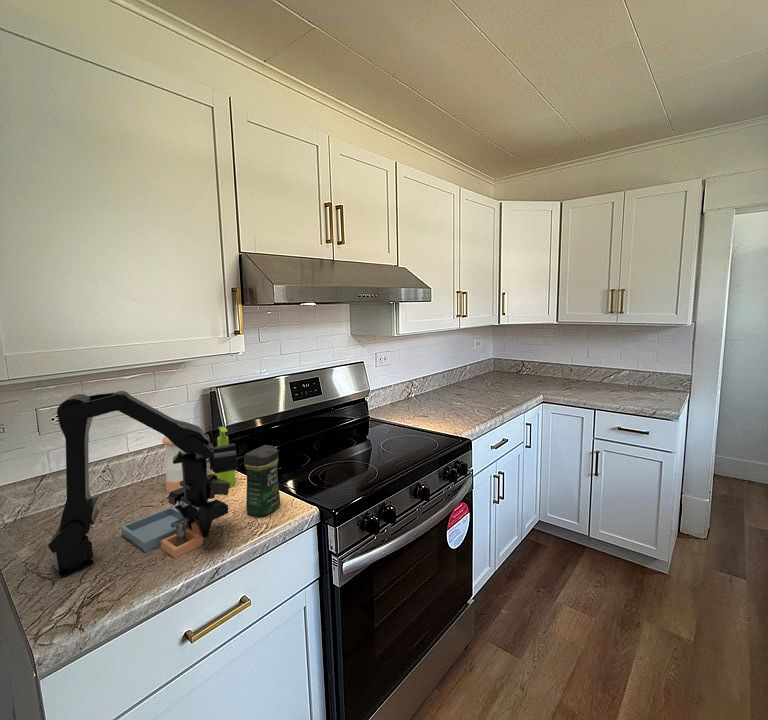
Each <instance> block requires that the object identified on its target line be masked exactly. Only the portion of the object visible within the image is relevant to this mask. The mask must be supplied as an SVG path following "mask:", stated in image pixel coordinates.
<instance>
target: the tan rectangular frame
mask: <svg viewBox="0 0 768 720" xmlns="http://www.w3.org/2000/svg"><path fill="white" fill-rule="evenodd" d="M191 525H192V531H191V530H190V529H186V530H185V532H186V540H188V541H186V543H184V544H182V545H180V546H178V545H177V546H176V544H177V534H175V535H172V536H170V537H168V538H166V539H163V540H161V546H160V549H162V550H163V551H165V553H167V554H168V555H170V556H172V557H173V558H175V559H176V558H178V556H179V557H181V556H182V555H185V554H186V553H189V552H191V551H193V550H194V549H197V548H199V547H201V546H203V545H204V540H206V539H208V538H207V537H206V539H205V538H203V536H202V535H201V533H200V530H199V528H198V526H197V524H196V522H194V523H192V524H191ZM203 539H204V540H203ZM202 544H203V545H202Z"/></svg>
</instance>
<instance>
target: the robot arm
mask: <svg viewBox="0 0 768 720" xmlns="http://www.w3.org/2000/svg"><path fill="white" fill-rule="evenodd" d="M116 411H117V412H120V413H122V414H123V415H126V416H127V417H129V418H131V419H133V420H135V421H137V422H139V423H141V424H142V425H144V426H146V427H148V428H151V430H154V431H156V432H158V433H160V434H162V435H163V436H166V437H167V438H168V439H169V440H170V441H171V442H172V443H173V444H174V445H175V446H177V447H178V448H179V449H181V450H182V451H183V452H185V453H183V452H181V451H179V452H178V454H177V455H176V456H175V457H174V458H173V464H177V463H182V475H183V481H180V486H182V488H180V489H177V490H174V491H171V492H169V494H168V495H167V496H168V497H167V498H168V503H169V504H170V505H172V506H175V507H174V508H176V509H177V510H178V512H179V513H180V514H181V516H182V517H183V518H185V517H188V518H189V521H188V522H186V523H187V525H188V526H189V528H190V529H191V531H192V525H191V524H192V523H194V522H196V524H197V526H198V528H199V530H200V533H201V535H202V536H203V538H206V537H208V538H209V534H210V531H211V527H212V524H213V521H214V520H216V519H218V518H221V517H223V516H225V515H228V513H229V505H228V504H227V503H225V502H223V501H221V500H219V499H214V498H215V495H216V496H228V494H229V490H230V488H229V487H230V483H229V482H227V481H224V480H221V479H217V476H216V473H221V472H227V471H233V470H235V471H238V470H239V461H238V457H237V450H236V444H235V443H229V445H225V446H218V445H217V446H218V447H217V446H214V445H213V443H212V442H210V441H209V440H208V438H206V436H205V432H204V430H203V428H202V427H200V426H199V425H196V424H193V423H190V422H187V421H182V420H178V419H175V418H173V417H171V416H169V415H167V414H165V413H163V412H162V411H160V410H158V409H156V408H154V407H152V406H151V405H149V404H148V403H145V402H144V401H142V400H140V399H138V398H136V397H134V396H133V395H131V394H129V392H128V391H124V390H118V391H115V392H108V393H99V394H92V395H87V394H83V393H77V394H73V395H70V396H69V397H68V398H67V399H65V400H64V401H62V402H61V403H60V404H59V405H58V407H57V410H56V415H57V420H58V424H59V427H60V430H61V432H62V434H63V436H64V439H65V473H66V474H65V477H66V478H65V479H66V481H65V482H66V485H65V486H66V487H65V488H66V499H65V502H64V504H65V505H64V507H63V511H62V513H61V519H60V524H59V526H58V528H57V530H56V531H55V533H54V535H53V536H52V538H51V540H50V541H49V543H48V545H47V547H48V548H49V550H50V552H51V553H52V559H53V564H52V565H51V569H52V570H53V571H54V572H55V573H56V574H57V576H59V578H65V577H66V576H68V575H70V574H74V573H75V572H78V571H81V570H82V569H85V568H87V567H89V566H92V565H94V563H95V561H94V560H93V558H94V551H93V543H92V541H91V540H90V539H89V536H87V534H89V532H90V531H91V528H92V526H93V525H94V524H95V522H96V520H97V518H98V515H99V513H100V510H99V508H98V507H99V506H98V503H99V499H100V497H99V496H95V497H92V495H91V493H90V481H89V480H90V479H89V477H90V476H89V475H90V474H89V473H90V472H89V471H90V469H89V467H90V466H89V465H90V464H89V462H90V461H89V460H90V459H89V458H90V457H89V432H90V428H91V426H92V421H93V420H94V419H93V418H94V417H99V416H101V415H105V414H109V413H112V412H116ZM207 460H209V471H212V474H211V473H209V474H208V465H207ZM213 473H214V474H213ZM212 499H214V500H212ZM209 500H212V501H209ZM206 539H207V538H206Z"/></svg>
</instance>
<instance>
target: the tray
mask: <svg viewBox="0 0 768 720" xmlns="http://www.w3.org/2000/svg"><path fill="white" fill-rule="evenodd" d="M182 518H183V517H182V516H181V514H180V513H179V512H178V510H177V509H176V508H175V507H174V506H170V507H168V508H165V509H162V510H160V511H156V512H155V513H152V514H150V515H147V516H144V517H142V518H139V519H137V520H134V521H132V522H129V523H126V524H123V525H121V526H120V529H121V530H120V532H121V536H122V537H123V538H124V539H126V540H127V541H129V542H130V543H131V544H133V545H134V546H135V547H136V548H138V549H140V550H141V551H142V552H144V553H148V552H150V551H152V550H154V549H156V548H158V547H161V540H163V539H166V538H168V537H170V536H172V535H175V534H177V533H176V527H174V528H173V527H171V523H173V522H175V521H178V520H180V519H182ZM186 529H190V528H189V526H188V525H187V523H185V530H186ZM190 530H191V529H190Z"/></svg>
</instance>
